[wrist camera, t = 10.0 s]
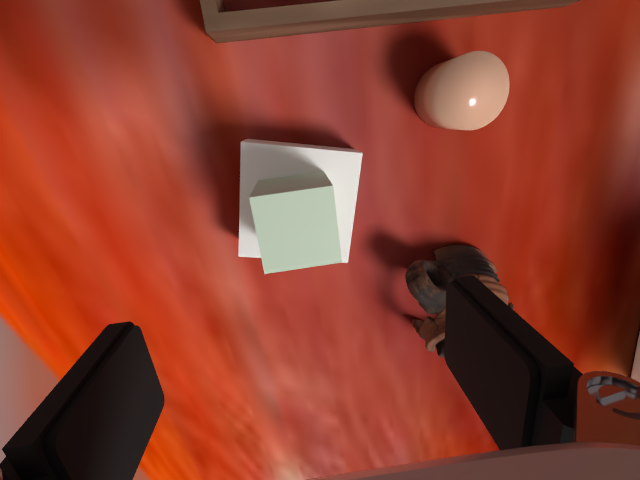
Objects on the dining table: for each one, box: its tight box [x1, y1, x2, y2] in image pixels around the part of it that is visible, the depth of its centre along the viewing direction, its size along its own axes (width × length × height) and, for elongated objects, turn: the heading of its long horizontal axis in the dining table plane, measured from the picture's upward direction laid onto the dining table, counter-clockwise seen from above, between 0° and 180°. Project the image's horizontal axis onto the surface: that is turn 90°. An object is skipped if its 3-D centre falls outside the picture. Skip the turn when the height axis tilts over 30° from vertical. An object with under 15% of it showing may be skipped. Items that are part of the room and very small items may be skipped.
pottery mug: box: [406, 245, 514, 357], centre depth 32 cm, size 12×10×8 cm
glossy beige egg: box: [414, 51, 509, 130], centre depth 26 cm, size 5×5×5 cm
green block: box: [249, 171, 342, 274], centre depth 24 cm, size 5×5×6 cm
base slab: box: [239, 139, 363, 263], centre depth 28 cm, size 9×9×4 cm
